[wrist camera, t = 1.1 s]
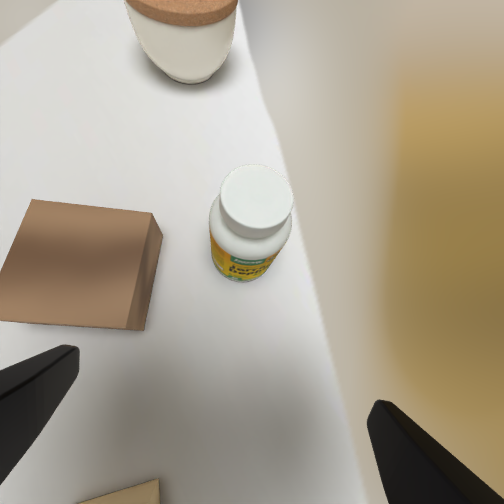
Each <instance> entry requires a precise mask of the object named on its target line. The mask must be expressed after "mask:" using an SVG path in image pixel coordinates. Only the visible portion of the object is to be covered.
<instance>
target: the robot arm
mask: <svg viewBox="0 0 504 504" xmlns="http://www.w3.org/2000/svg"><path fill="white" fill-rule="evenodd" d="M79 357H80V351H79V348H78V347H76V346H71V345H60V346H58V347H55V348H53V349H50V350H48V351H46V352H43V353H41V354H38V355H36V356H34V357H31V358H29V359H26V360H24V361H22V362H19V363H17V364H14V365H12V366H9V367H7V368H5V369H2V370H0V485H1V484H2V482H3V481H4V480H5V478H6V477H7V476H8V475H9V473H10V472H11V471H12V469H13V468H14V467H15V466H16V464H17V463H18V462H19V460H20V459H21V458H22V457H23V455H24V454H25V453H26V451H27V450H28V449H29V448H30V446H31V445H32V444H33V442H34V441H35V440H36V438H37V437H38V435H39V434H40V433H41V431H42V430H43V428H44V427H45V425H46V424H47V422H48V421H49V419H50V418H51V416H52V415H53V413H54V411H55V410H56V408H57V407H58V405H59V404H60V402H61V401H62V399H63V398H64V396H65V395H66V393H67V392H68V390H69V389H70V387H71V385H72V384H73V382H74V381H75V379H76V378H77V376H78V373H79ZM367 428H368V432H369V436H370V439H371V443H372V447H373V451H374V455H375V458H376V462H377V466H378V470H379V473H380V477H381V481H382V484H383V487H384V491H385V494H386V497H387V500H388V503H389V504H504V499H503V498H502V497H501V496H500V495H498V494H497V493H496V492H495V491H494V490H492V489H491V488H490V487H489V486H488V485H487V484H485V482H483V481H482V480H481V479H480V478H479V477H477V476H476V475H475V474H474V473H473V472H472V471H471V470H470V469H468V468H467V467H466V466H465V465H464V464H463V463H461V462H460V461H459V460H458V459H457V458H456V457H454V456H453V455H452V454H451V453H450V452H449V451H448V450H446V449H445V448H444V447H443V446H442V445H441V444H439V443H438V442H437V441H436V440H435V439H434V438H432V437H431V436H430V435H429V434H428V433H427V432H426V431H424V430H423V429H422V428H421V427H420V426H419V425H417V424H416V423H415V422H414V421H413V420H412V419H411V418H409V417H408V416H407V415H406V414H405V413H404V412H402V411H401V410H400V409H399V408H398V407H397V406H396V405H394V404H393V403H392V402H390V401H385V400H377V401H375V403H374V405H373V407H372V410H371V412H370V414H369V416H368V419H367Z"/></svg>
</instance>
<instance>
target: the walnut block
mask: <svg viewBox="0 0 504 504" xmlns="http://www.w3.org/2000/svg"><path fill="white" fill-rule="evenodd" d="M162 238H163V234H162V232H161V230H160V228H159V226H158V224H157V222H156V220H155V218H154V216H153V214H152V213H148V212H139V211H131V210H122V209H113V208H104V207H96V206H87V205H78V204H70V203H61V202H52V201H43V200H35V199H32V200H31V202H30V205H29V207H28V209H27V211H26V214H25V216H24V218H23V221H22V223H21V225H20V228H19V230H18V232H17V235H16V237H15V239H14V241H13V244H12V246H11V248H10V251H9V253H8V255H7V258H6V260H5V262H4V264H3V267H2V269H1V271H0V321H8V322H19V323H30V324H45V325H61V326H77V327H92V328H108V329H124V330H140V331H144V326H145V321H146V316H147V311H148V307H149V302H150V297H151V292H152V287H153V282H154V277H155V272H156V267H157V262H158V257H159V252H160V247H161V242H162Z"/></svg>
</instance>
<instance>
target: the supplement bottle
mask: <svg viewBox="0 0 504 504" xmlns="http://www.w3.org/2000/svg"><path fill="white" fill-rule="evenodd" d="M293 203H294V198H293V192H292V189H291V186H290V184H289V183H288V181H287V180H286V179H285V178H284V177H283V176H282V175H281V174H280V173H279V172H277V171H275V170H274V169H272V168H269V167H267V166H263V165H254V164H253V165H245V166H241V167H238V168H236V169H234V170H233V171H232V172H230V173H229V174H228V175H227V176H226V178H225V179H224V181H223V183H222V185H221V188H220V194H219V195H218V196H217V197H216V199H215V200H214V202H213V204H212V206H211V209H210V214H209V228H210V239H211V253H212V259H213V262H214V265H215V267H216V268H217V270H218V271H219V272H220V273H221V274H222V275H224V276H225V277H227V278H229V279H231V280H234V281H237V282H247V281H251V280H254V279H256V278H258V277H260V276H261V275H262V274H263V273H264V272H265V271H266V270H267V269H268V267H269V266H270V264H271V263H272V262H273V260H274V259H275V257H276V256H277V255H278V253H279V252H280V250H281V249H282V247H283V246H284V245H285V243H286V241H287V240H288V238H289V235H290V232H291V227H292V218H291V210H292V208H293Z"/></svg>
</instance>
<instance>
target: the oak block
mask: <svg viewBox="0 0 504 504" xmlns="http://www.w3.org/2000/svg"><path fill="white" fill-rule="evenodd" d="M78 504H160V492H159V478H158V479H155V480H152V481H149V482H145V483H142V484H139V485H136V486H133V487H129V488H126V489H123V490H120V491H116V492H113V493H110V494H107V495H104V496H100V497H97V498H94V499H91V500H88V501H84V502H81V503H78Z"/></svg>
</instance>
